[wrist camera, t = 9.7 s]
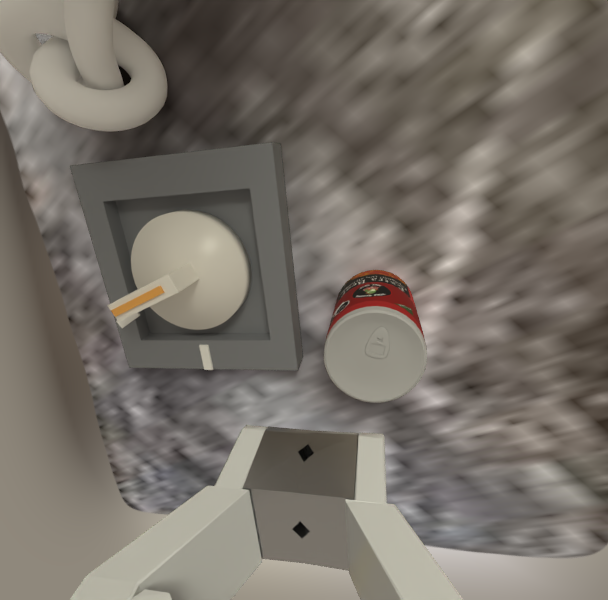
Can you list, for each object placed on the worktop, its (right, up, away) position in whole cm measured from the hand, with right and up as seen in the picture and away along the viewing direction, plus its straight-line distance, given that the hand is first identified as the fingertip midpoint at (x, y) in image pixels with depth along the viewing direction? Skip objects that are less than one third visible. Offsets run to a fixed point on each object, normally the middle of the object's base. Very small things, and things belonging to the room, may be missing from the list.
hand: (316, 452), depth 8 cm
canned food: (+7, +3, +29) cm, 30 cm away
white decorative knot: (-18, +25, +26) cm, 40 cm away
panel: (-11, +7, +31) cm, 34 cm away
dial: (-12, +6, +30) cm, 32 cm away
